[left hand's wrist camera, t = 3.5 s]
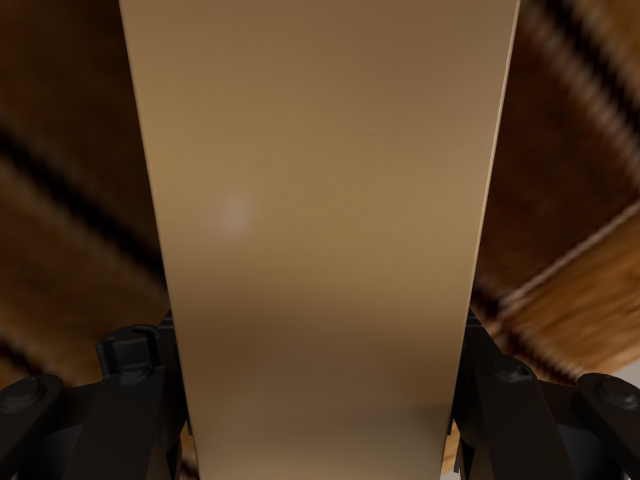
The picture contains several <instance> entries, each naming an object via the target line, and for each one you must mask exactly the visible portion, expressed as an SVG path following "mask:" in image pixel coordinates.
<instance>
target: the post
mask: <svg viewBox="0 0 640 480" xmlns="http://www.w3.org/2000/svg"><path fill="white" fill-rule="evenodd" d="M520 1H521V0H119V5H120V11H121V17H122V23H123V29H124V35H125V41H126V46H127V52H128V58H129V64H130V70H131V76H132V82H133V88H134V94H135V100H136V105H137V111H138V117H139V123H140V129H141V135H142V141H143V147H144V153H145V158H146V164H147V170H148V176H149V182H150V188H151V194H152V200H153V206H154V211H155V217H156V223H157V229H158V235H159V241H160V247H161V253H162V259H163V264H164V270H165V276H166V282H167V288H168V294H169V300H170V306H171V312H172V317H173V323H174V329H175V335H176V341H177V347H178V353H179V359H180V365H181V370H182V376H183V382H184V388H185V394H186V400H187V406H188V412H189V418H190V423H191V429H192V435H193V441H194V447H195V453H196V459H197V465H198V471H199V476H200V480H440V474H441V468H442V462H443V456H444V450H445V444H446V438H447V432H448V426H449V421H450V415H451V409H452V403H453V397H454V391H455V385H456V379H457V373H458V367H459V361H460V356H461V350H462V344H463V338H464V332H465V326H466V320H467V314H468V308H469V302H470V296H471V290H472V285H473V279H474V273H475V267H476V261H477V255H478V249H479V243H480V237H481V231H482V225H483V219H484V214H485V208H486V202H487V196H488V190H489V184H490V178H491V172H492V166H493V160H494V154H495V149H496V143H497V137H498V131H499V125H500V119H501V113H502V107H503V101H504V95H505V89H506V83H507V78H508V72H509V66H510V60H511V54H512V48H513V42H514V36H515V30H516V24H517V18H518V13H519V7H520Z"/></svg>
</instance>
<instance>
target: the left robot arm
mask: <svg viewBox="0 0 640 480" xmlns="http://www.w3.org/2000/svg"><path fill="white" fill-rule="evenodd" d="M95 347H96V351H97V355H98V358H99V362H100V366H101V370H102V373H103V379H102V381H100V382H97V383H93V384H89V385H84V386H79V387H75V388H70V389H66V390H65V388H64V385H63V382H62V380H61V379H60V378H59V377H57V376H55V375H49V374H44V375H37V376H32V377H28V378H26V379H22V380H19V381H17V382H15V383H13V384H11V385H10V386H8V387H6V388H4V389H3V390H1V391H0V480H11V479H12V480H179V477H180V468H181V458H182V444H181V439H180V433H181V431H182V428H183V426H184V424H185V421H186V419H187V425H188V431H189V435H192V429H191V423H190V418H189V412H188V406H187V400H186V394H185V388H184V382H183V376H182V370H181V365H180V359H179V353H178V347H177V341H176V335H175V329H174V323H173V317H172V312H171V309H170V310H169V311H168V313H167V314H166V316H165V317H164V320H162V321H161V323H160V324H159V325H158V328H156V327H155V326H151V325H147V324H140V325H131V326H127V327H123V328H120V329H118V330H116V331H113V332H111V333H109V334H108V335H106V336H105V337H103V338H102V339H101V340H100V341H99V342H98V344H97V345H96V346H95ZM453 418H454V420H455V422H456V425H457V427H458V430H459V432H460V439H459V444H458V449H457V455H456V460H455V466H454V472H456V473H459V467H460V477H461V480H628V478H630V479H631V480H640V389H639V388H637V387H636V386H634V385H632V384H630V383H628V382H626V381H624V380H622V379H620V378H617V377H613V376H611V375H607V374H601V373H587V374H583V375H582V376H581V377H579V378H578V381H577V384H576V387H575V388H572V387H568V386H563V385H559V384H554V383H549V382H545V381H542V380H538V379H537V376H536V375H535V374H534V372H533V371H532V369H531V368H530V367H528V366H527V365H526V364H524V363H523V362H522V361H520V360H518V359H516V358H513V357H511V356H508V355H504V354H503V353H502V352H501V351H500V349H499V348H498V346H497V345H496V344H495V342H494V341H493V339H492V338H491V337H490V335H489V334H488V333H487V331H486V330H485V328H484V327H482V324H481V323H480V321H479V320H478V319H476V316H475V314H474V313H473V312H472V310H471V309H470V307H469V308H468V314H467V320H466V326H465V332H464V338H463V344H462V350H461V356H460V361H459V367H458V373H457V379H456V385H455V391H454V397H453V403H452V409H451V415H450V421H449V426H448V432H447V435H451V429H452V424H453Z"/></svg>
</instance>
